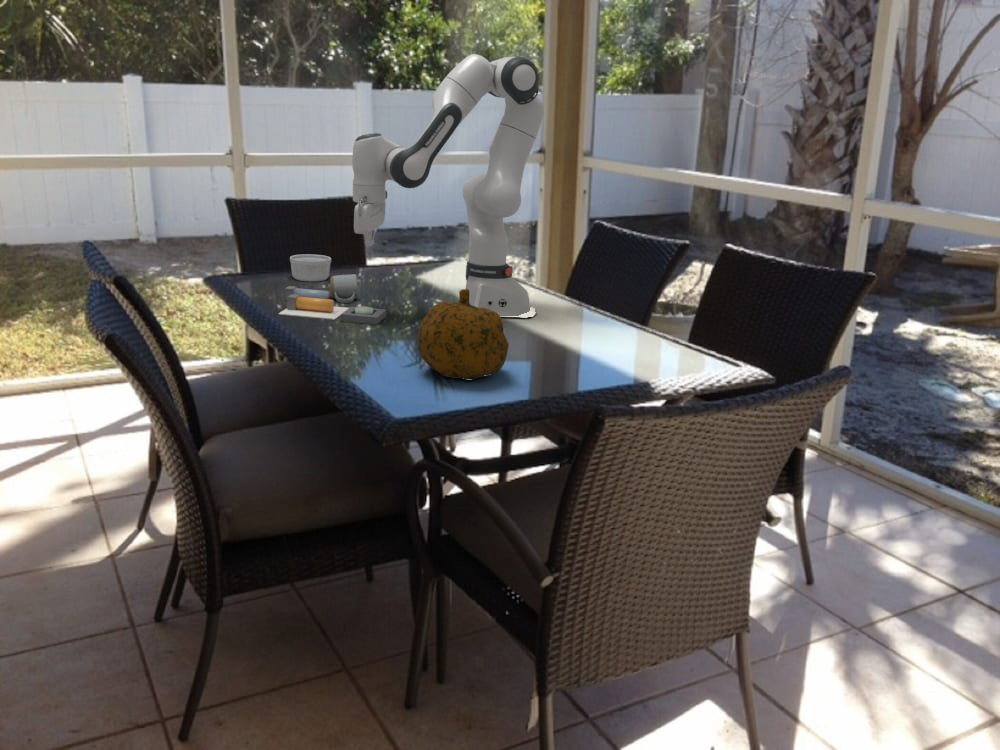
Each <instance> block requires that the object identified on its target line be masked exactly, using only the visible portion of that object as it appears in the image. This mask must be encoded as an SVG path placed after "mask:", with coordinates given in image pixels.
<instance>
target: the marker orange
mask: <svg viewBox="0 0 1000 750" xmlns="http://www.w3.org/2000/svg"><path fill="white" fill-rule="evenodd" d="M334 300H335V299H319V298H308V297H300V295H294V294H291V295H290V296H288V297H287V301H286V302H287V305H286V307H287V308H286V309H287V310H297V309H302V310H313V311H324V312H333V310H334V306H335V302H334Z"/></svg>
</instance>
